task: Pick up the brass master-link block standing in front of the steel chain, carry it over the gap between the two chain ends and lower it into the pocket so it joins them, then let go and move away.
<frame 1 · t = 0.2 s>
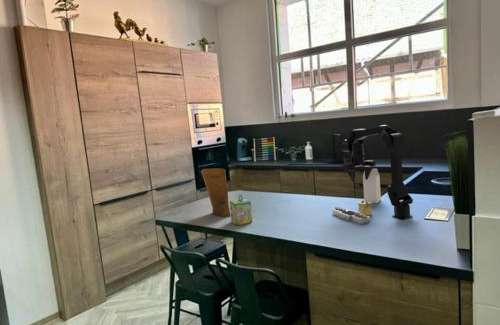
hand: (359, 180, 183), 14 cm above the counter, tool pointing down, fingers open, 9 cm apart
chalk box: (242, 222, 179), on the counter
chain: (350, 217, 167), on the counter
milk carton: (372, 201, 192), on the counter
pancake mix bag: (220, 215, 197), on the counter
master link: (365, 214, 171), on the counter
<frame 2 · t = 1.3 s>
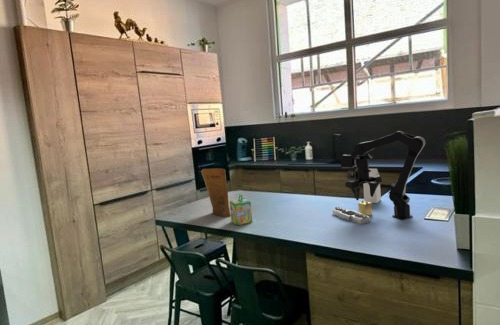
hand: (364, 198, 170), 8 cm above the counter, tool pointing down, fingers open, 9 cm apart
nothing on the counter moved.
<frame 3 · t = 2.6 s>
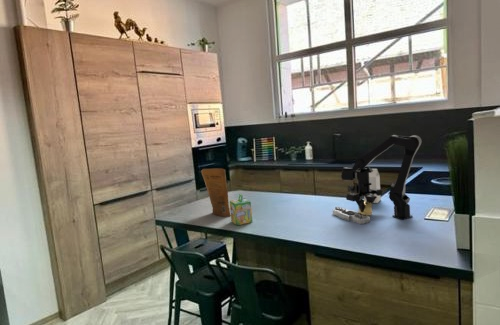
hand: (365, 211, 171), 2 cm above the counter, tool pointing down, fingers closed on master link, 4 cm apart
master link: (365, 214, 171), on the counter, touching gripper
everything else where it was.
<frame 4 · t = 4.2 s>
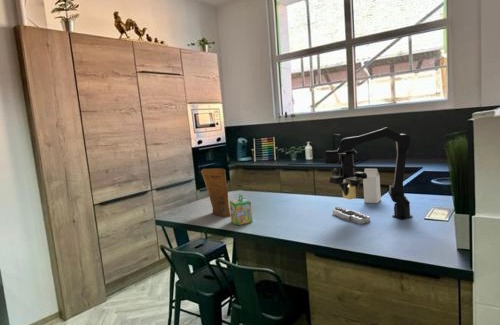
hand: (349, 194, 166), 12 cm above the counter, tool pointing down, fingers closed on master link, 4 cm apart
master link: (349, 197, 166), point 10 cm above the counter, touching gripper
everything else where it was.
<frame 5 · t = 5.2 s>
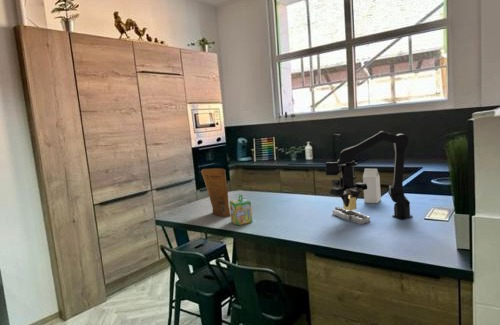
hand: (349, 205, 166), 6 cm above the counter, tool pointing down, fingers closed on master link, 4 cm apart
master link: (350, 208, 167), point 5 cm above the counter, touching gripper
everything else where it was.
when the fingers open (3 cm above the counter, at t = 6.0 s): master link drops 2 cm, resting in chain.
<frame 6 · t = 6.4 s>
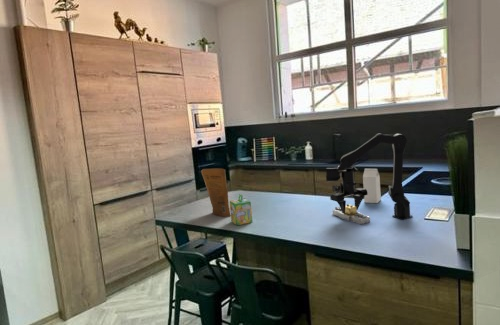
hand: (350, 211, 167), 3 cm above the counter, tool pointing down, fingers open, 8 cm apart
master link: (350, 218, 167), resting in chain
everything else where it was.
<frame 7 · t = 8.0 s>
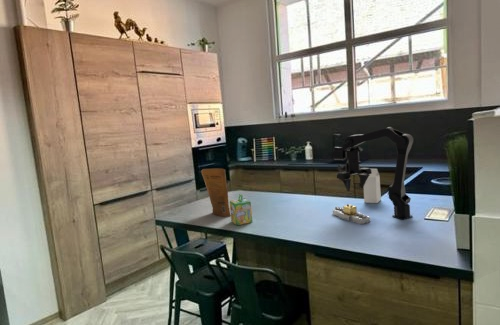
hand: (355, 189, 174), 12 cm above the counter, tool pointing down, fingers open, 9 cm apart
nothing on the counter moved.
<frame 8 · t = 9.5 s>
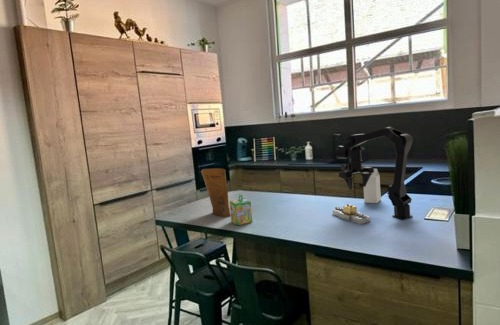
hand: (357, 188, 176), 12 cm above the counter, tool pointing down, fingers open, 9 cm apart
nothing on the counter moved.
at the end: master link 0.0 cm off-centre on the chain, point 0.0 cm above the chain's base; master link tilted 0°; the gripper is holding nothing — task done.
